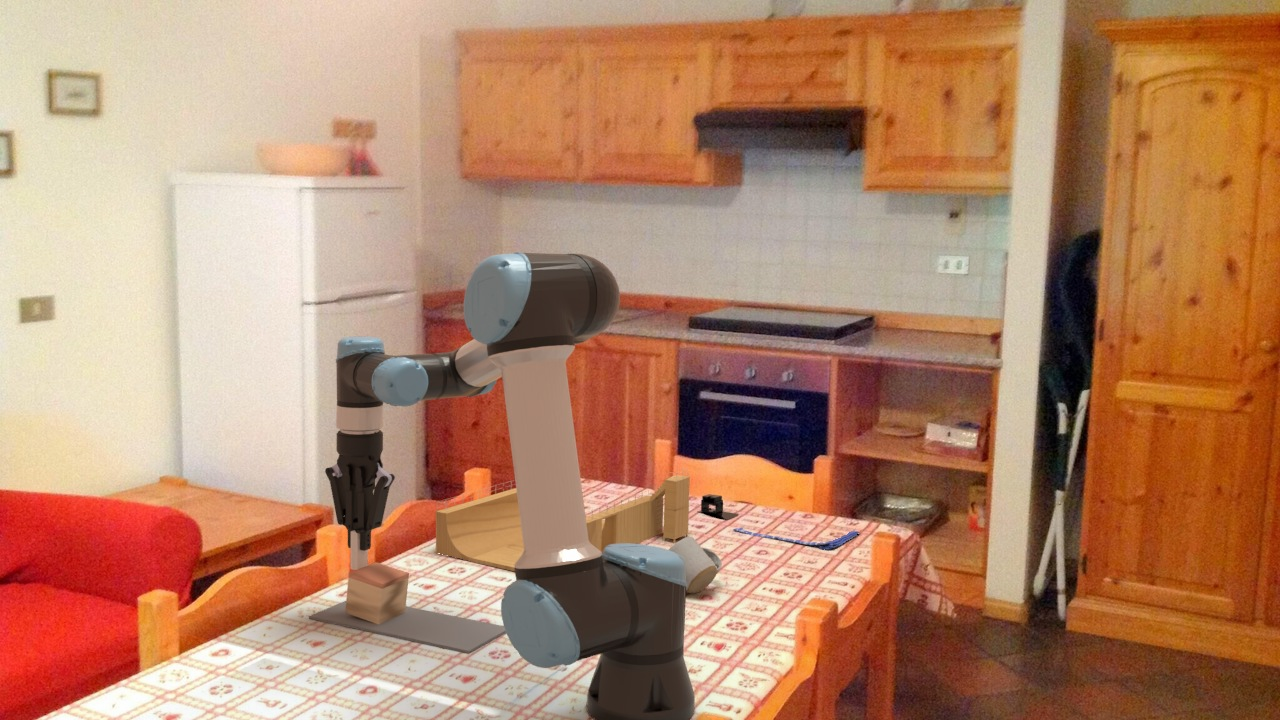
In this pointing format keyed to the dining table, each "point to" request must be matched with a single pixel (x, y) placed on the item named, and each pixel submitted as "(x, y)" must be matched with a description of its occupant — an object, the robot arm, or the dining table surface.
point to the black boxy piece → (718, 503)
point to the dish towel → (825, 545)
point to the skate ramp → (497, 535)
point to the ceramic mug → (697, 564)
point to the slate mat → (420, 627)
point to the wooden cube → (377, 593)
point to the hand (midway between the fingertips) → (359, 567)
